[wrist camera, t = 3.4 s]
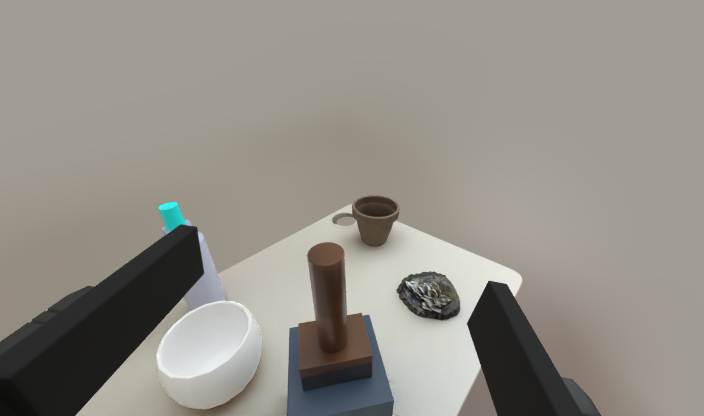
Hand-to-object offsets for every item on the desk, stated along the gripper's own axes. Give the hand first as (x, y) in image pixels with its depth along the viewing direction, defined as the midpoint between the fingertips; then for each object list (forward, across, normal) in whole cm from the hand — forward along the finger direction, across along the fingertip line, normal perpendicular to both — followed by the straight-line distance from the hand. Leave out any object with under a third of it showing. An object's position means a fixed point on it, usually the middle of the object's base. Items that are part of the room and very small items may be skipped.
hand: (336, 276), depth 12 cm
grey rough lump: (+30, +17, -28) cm, 45 cm away
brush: (+8, +1, -20) cm, 21 cm away
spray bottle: (+24, -25, -35) cm, 49 cm away
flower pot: (+48, +6, -30) cm, 57 cm away
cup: (+12, -15, -34) cm, 39 cm away
